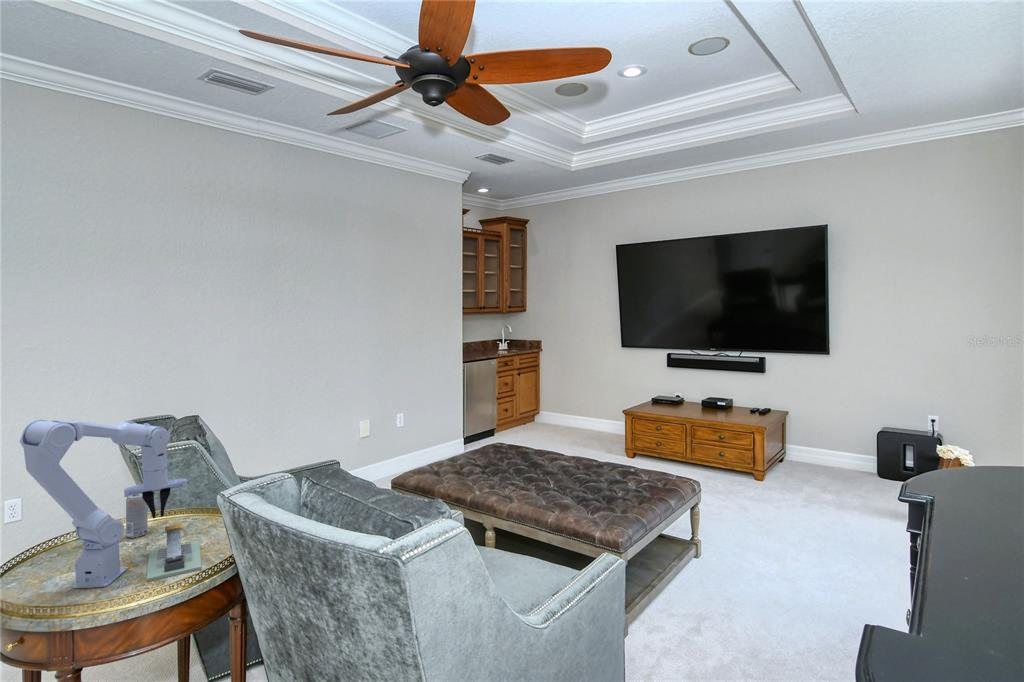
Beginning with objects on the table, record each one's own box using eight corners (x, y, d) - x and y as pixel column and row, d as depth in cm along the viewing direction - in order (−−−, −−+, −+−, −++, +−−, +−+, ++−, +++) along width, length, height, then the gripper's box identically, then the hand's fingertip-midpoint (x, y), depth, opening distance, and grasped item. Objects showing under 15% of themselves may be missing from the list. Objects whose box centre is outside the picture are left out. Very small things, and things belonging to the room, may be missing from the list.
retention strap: (183, 559, 145) (182, 556, 144) (165, 563, 142) (164, 560, 142) (182, 526, 155) (181, 523, 154) (165, 530, 153) (165, 526, 152)
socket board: (201, 569, 145) (200, 551, 145) (146, 581, 139) (145, 563, 138) (199, 543, 160) (198, 527, 160) (150, 553, 154) (149, 536, 154)
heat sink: (192, 560, 148) (191, 553, 148) (156, 568, 144) (156, 561, 144) (191, 549, 155) (191, 542, 155) (157, 556, 151) (157, 549, 151)
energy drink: (144, 529, 170) (144, 491, 170) (149, 534, 167) (150, 495, 166) (123, 534, 166) (123, 495, 166) (129, 539, 163) (129, 499, 162)
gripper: (185, 460, 160) (188, 506, 161) (124, 469, 153) (127, 516, 154) (185, 467, 154) (188, 514, 155) (122, 476, 147) (125, 525, 148)
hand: (158, 516), depth 154 cm, fingers closed
